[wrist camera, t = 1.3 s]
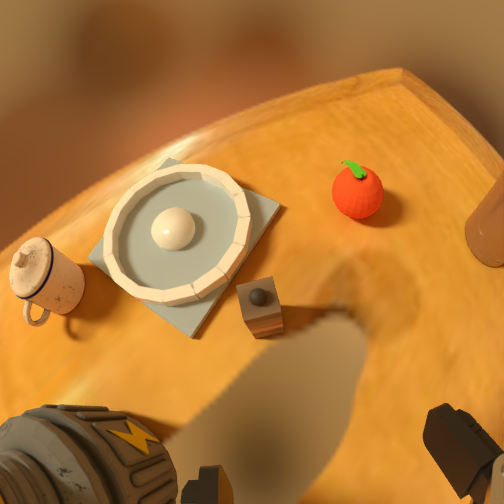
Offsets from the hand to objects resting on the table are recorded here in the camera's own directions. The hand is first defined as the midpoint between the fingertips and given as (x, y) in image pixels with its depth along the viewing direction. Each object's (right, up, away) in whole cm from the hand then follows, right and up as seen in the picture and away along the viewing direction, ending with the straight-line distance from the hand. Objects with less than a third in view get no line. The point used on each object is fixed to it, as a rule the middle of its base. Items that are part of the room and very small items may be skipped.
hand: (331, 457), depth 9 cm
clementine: (+11, +14, +32) cm, 37 cm away
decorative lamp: (-20, -21, +20) cm, 35 cm away
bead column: (-1, -1, +27) cm, 27 cm away
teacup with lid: (-32, 0, +32) cm, 45 cm away
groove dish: (-13, +10, +33) cm, 37 cm away
